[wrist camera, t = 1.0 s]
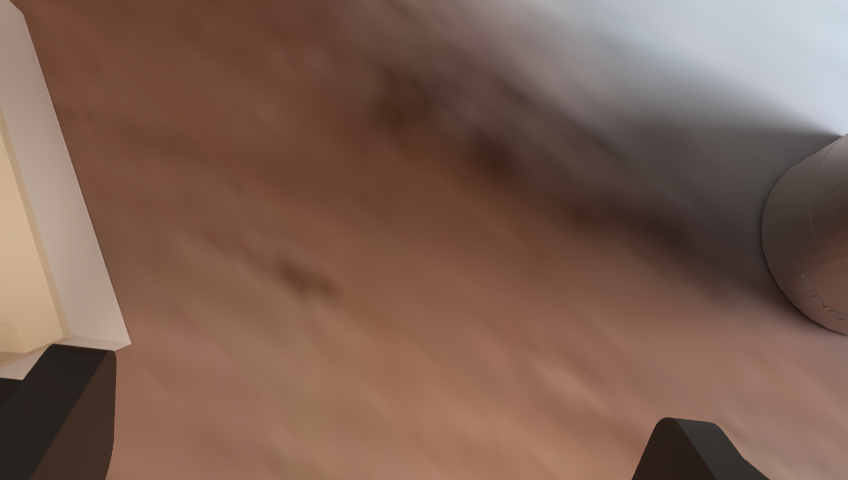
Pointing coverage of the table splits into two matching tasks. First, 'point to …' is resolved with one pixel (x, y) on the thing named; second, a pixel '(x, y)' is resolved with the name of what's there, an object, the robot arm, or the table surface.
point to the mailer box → (54, 198)
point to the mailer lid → (24, 270)
